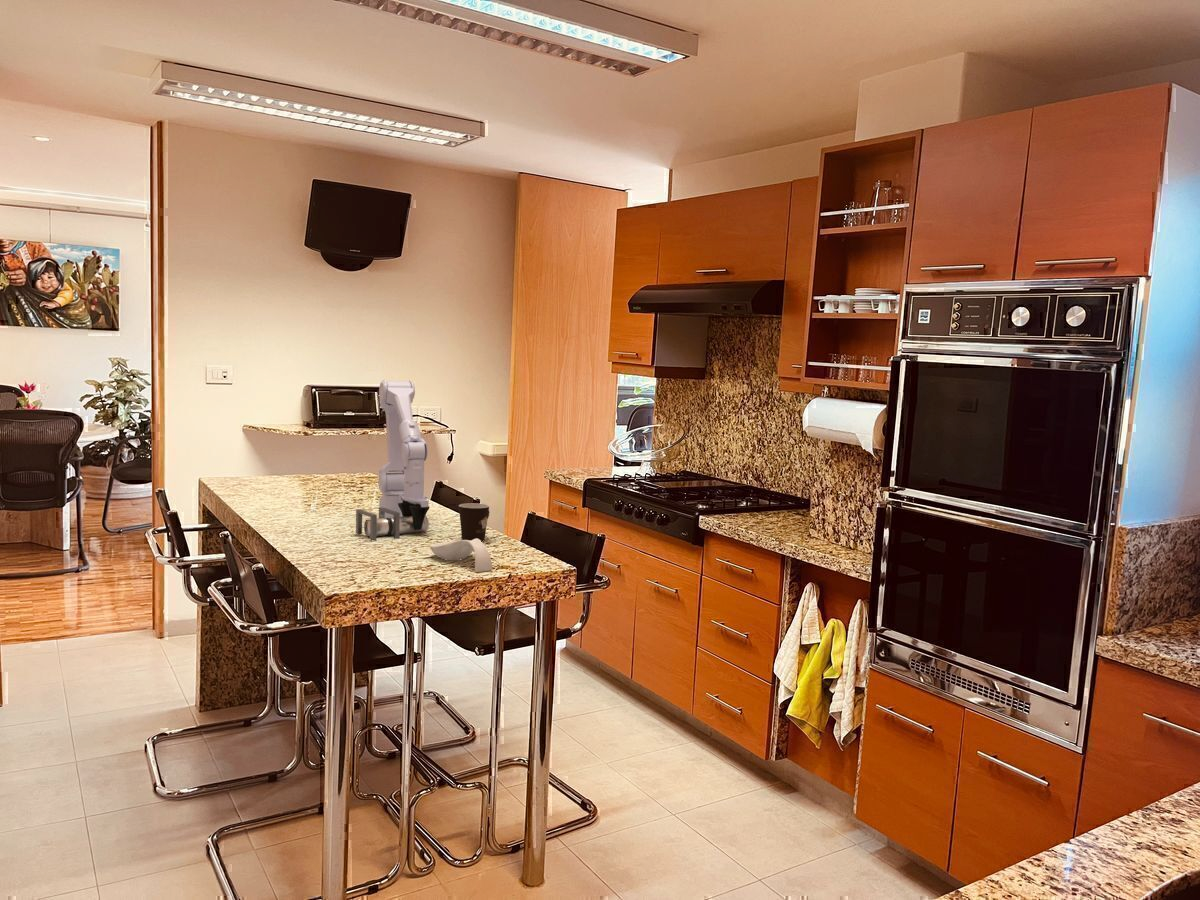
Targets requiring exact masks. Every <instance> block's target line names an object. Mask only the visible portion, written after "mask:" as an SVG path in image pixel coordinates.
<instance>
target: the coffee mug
mask: <svg viewBox="0 0 1200 900" xmlns="http://www.w3.org/2000/svg"><path fill="white" fill-rule="evenodd" d="M458 512H459V521H460V522H459V523H460V533H461V540H469V541H471V540H474V539H476V538H477V539H479V540H480V541H483V540H484V541H485V539H486V532H487V527H488V526H487V525H488V519H489V516H490V505H488V504H486V503H473V502H472V503H469V502H467V503H461V504H459V505H458ZM484 541H483V542H484Z"/></svg>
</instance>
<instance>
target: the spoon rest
mask: <svg viewBox="0 0 1200 900" xmlns="http://www.w3.org/2000/svg"><path fill="white" fill-rule="evenodd" d="M429 548H430V551H431V552H432V553H433V554H434V555H435V556H436V557H438V558H440V559H441V558H442V559H441V560H443V559H447V560H446V561H448V560H458V561H461V560H460V559H464V558H465V559H466V558H468V557H469V556H470V555H471V554H472V553H473V552H474V571H475V573H484V572H490V571H493V562H492V559H491V556H490V553H489V551H488V549H487V547H486V546H485V544H484V543H483V542H481V541H480V540H479V539H477V538H476V539H474V540H471V541H469V540H462V539H461V540H456V541H455V540H454V541H443V542H436V543H432V544H430V545H429ZM465 559H464V560H465Z"/></svg>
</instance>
